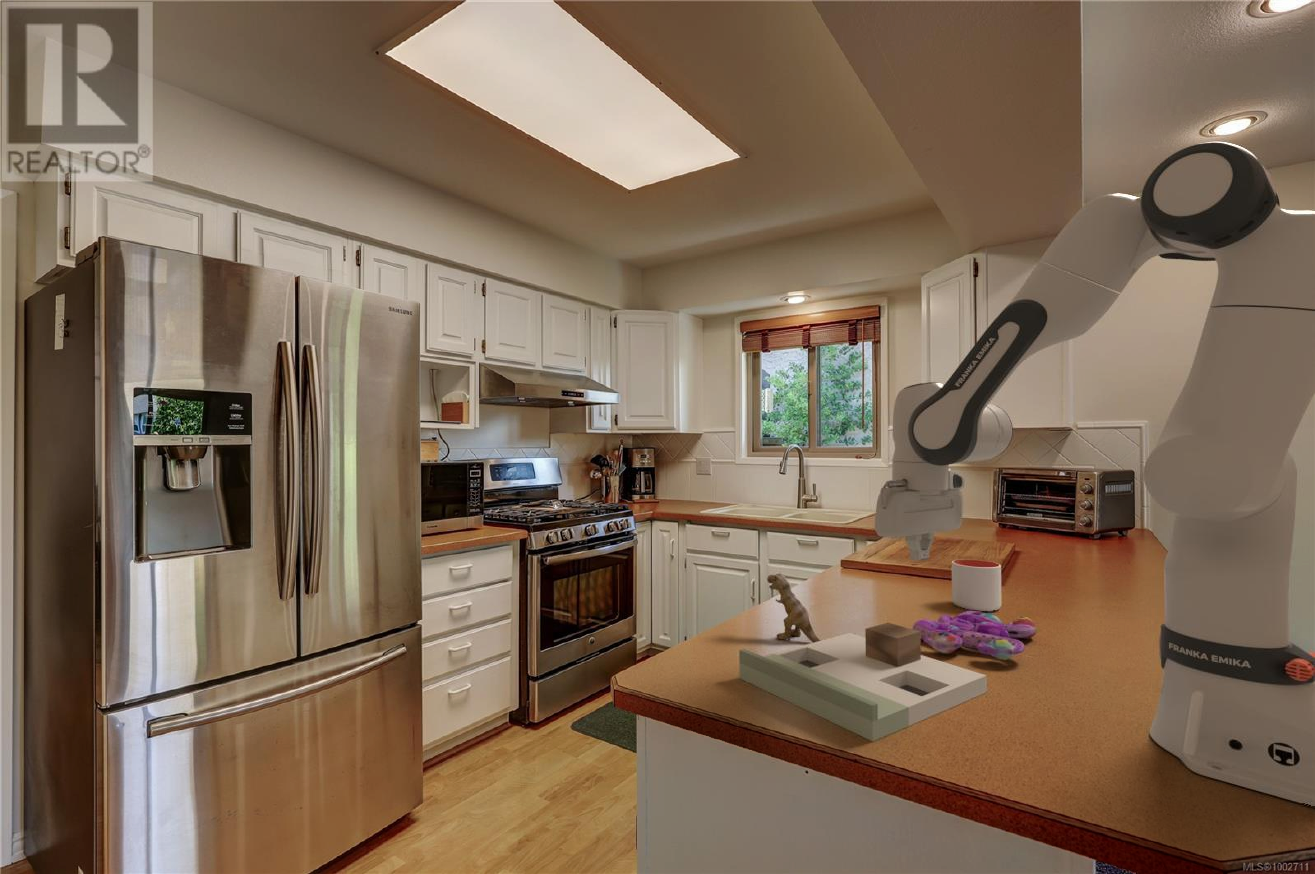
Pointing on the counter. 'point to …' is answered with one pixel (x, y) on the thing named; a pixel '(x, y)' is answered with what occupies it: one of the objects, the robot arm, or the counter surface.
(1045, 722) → the counter surface
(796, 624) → the toy
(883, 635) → the walnut block
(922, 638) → the decorative sculpture
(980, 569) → the cup
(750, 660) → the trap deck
